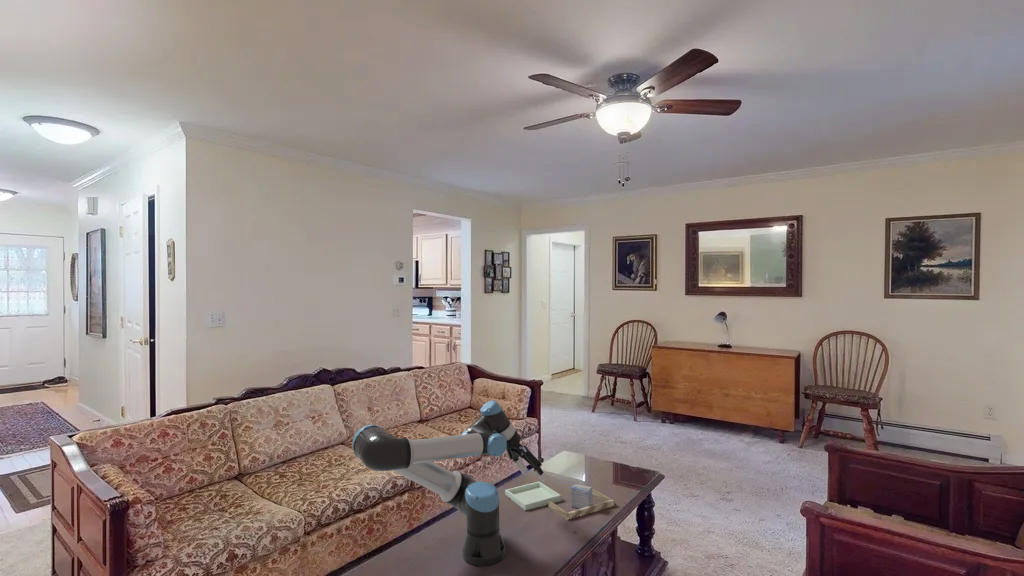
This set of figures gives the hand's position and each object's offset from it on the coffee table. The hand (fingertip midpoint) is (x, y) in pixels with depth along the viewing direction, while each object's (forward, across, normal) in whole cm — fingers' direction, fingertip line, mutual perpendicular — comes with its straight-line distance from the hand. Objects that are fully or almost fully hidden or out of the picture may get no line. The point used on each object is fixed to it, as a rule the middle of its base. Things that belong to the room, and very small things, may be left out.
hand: (534, 475), depth 200 cm
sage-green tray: (+19, +18, 0) cm, 26 cm away
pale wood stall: (+26, -2, -9) cm, 28 cm away
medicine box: (+27, -2, -9) cm, 28 cm away
